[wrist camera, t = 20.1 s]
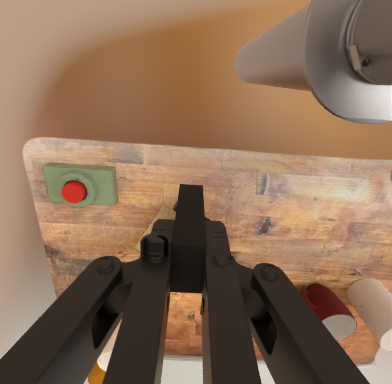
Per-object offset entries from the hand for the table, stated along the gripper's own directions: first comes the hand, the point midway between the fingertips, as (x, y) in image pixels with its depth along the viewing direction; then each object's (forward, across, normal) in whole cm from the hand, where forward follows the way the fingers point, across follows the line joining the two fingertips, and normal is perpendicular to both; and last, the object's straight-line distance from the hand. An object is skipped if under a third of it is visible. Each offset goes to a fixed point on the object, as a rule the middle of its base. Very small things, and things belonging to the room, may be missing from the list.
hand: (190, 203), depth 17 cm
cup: (+30, -43, +36) cm, 63 cm away
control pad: (+29, +20, +12) cm, 37 cm away
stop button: (+26, +20, +12) cm, 35 cm away
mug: (+30, -30, +36) cm, 55 cm away
